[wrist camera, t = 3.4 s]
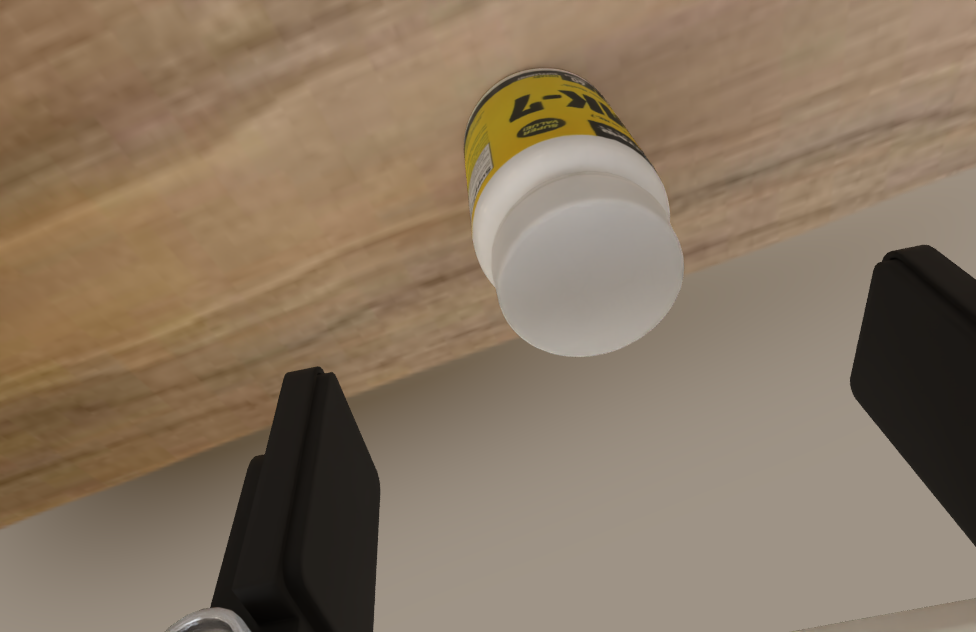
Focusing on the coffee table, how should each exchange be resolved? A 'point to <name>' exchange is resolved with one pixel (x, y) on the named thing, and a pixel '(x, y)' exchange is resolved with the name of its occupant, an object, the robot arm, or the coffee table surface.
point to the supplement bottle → (568, 216)
